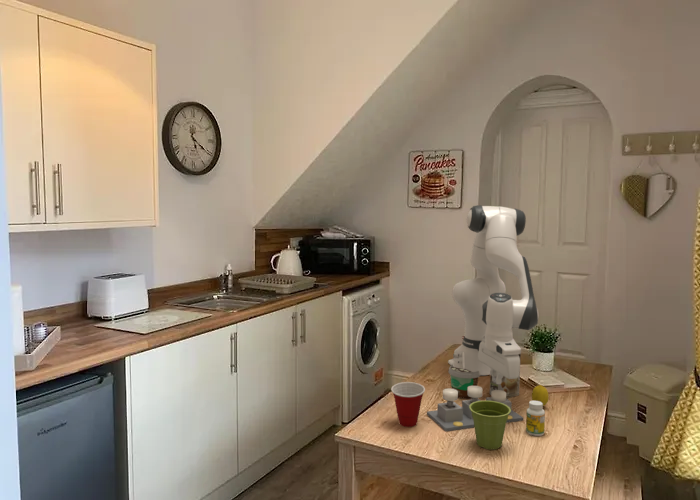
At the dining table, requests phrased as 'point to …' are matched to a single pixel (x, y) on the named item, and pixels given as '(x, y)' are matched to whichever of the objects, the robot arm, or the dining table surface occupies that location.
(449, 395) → the button
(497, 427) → the plant pot
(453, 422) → the button board
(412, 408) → the plastic cup
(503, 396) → the button
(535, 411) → the supplement bottle
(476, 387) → the button
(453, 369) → the food container
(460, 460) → the dining table surface
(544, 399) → the lemon
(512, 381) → the coffee box
